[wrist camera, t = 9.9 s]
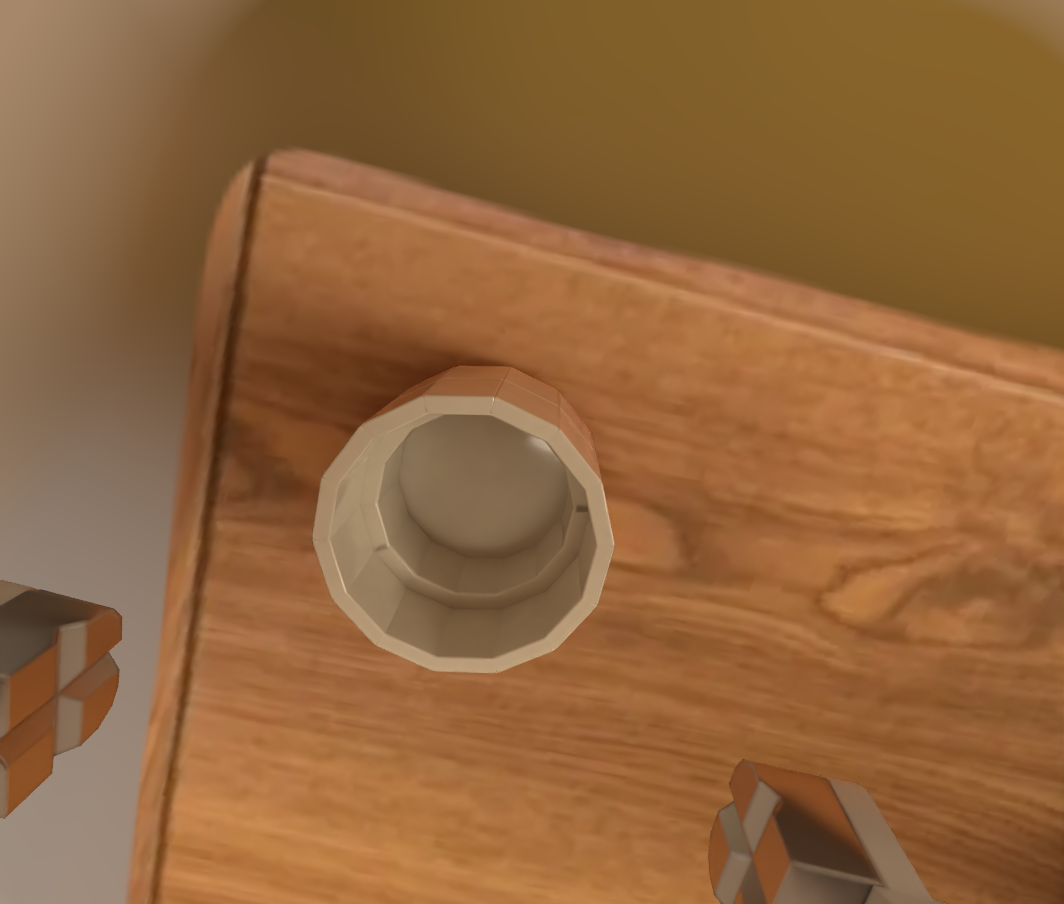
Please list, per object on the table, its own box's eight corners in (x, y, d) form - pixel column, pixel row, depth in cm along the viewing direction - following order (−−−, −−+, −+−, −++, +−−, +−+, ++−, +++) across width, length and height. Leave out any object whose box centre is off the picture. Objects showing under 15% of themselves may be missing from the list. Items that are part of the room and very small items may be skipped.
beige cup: (360, 550, 19) (295, 640, 15) (398, 336, 18) (338, 359, 13) (566, 597, 20) (569, 703, 15) (623, 391, 18) (648, 433, 13)
